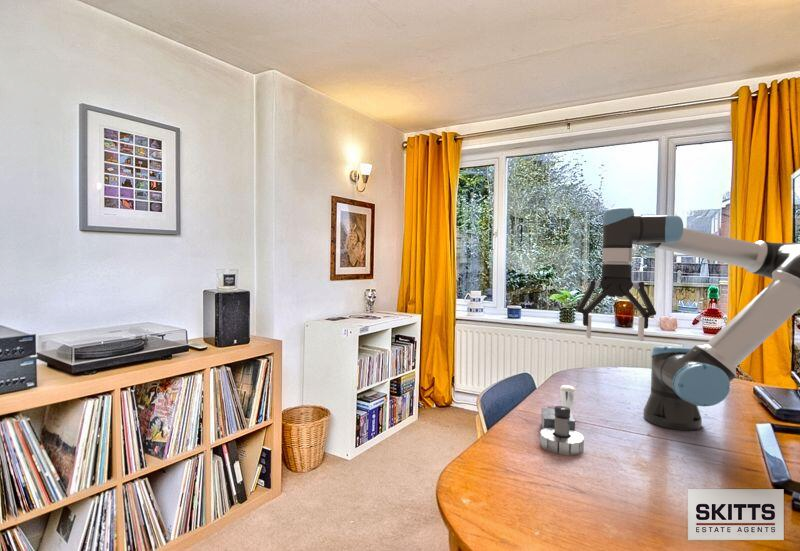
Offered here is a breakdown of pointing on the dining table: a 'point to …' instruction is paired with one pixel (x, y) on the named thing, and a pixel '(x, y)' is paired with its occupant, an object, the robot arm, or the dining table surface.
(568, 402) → the milkshake
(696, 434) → the dining table surface
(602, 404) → the dining table surface
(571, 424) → the grey block with disc
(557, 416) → the black capped grinder
